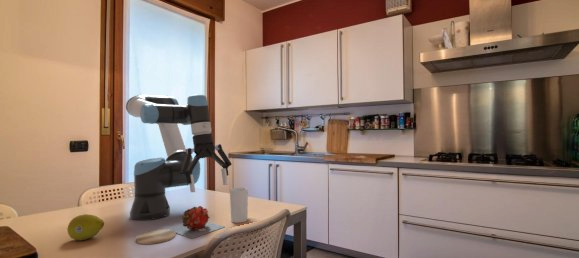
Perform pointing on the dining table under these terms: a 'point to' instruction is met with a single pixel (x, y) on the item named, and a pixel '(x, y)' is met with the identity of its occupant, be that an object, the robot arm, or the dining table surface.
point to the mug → (239, 204)
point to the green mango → (84, 227)
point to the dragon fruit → (195, 218)
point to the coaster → (155, 236)
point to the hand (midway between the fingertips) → (209, 188)
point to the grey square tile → (197, 230)
